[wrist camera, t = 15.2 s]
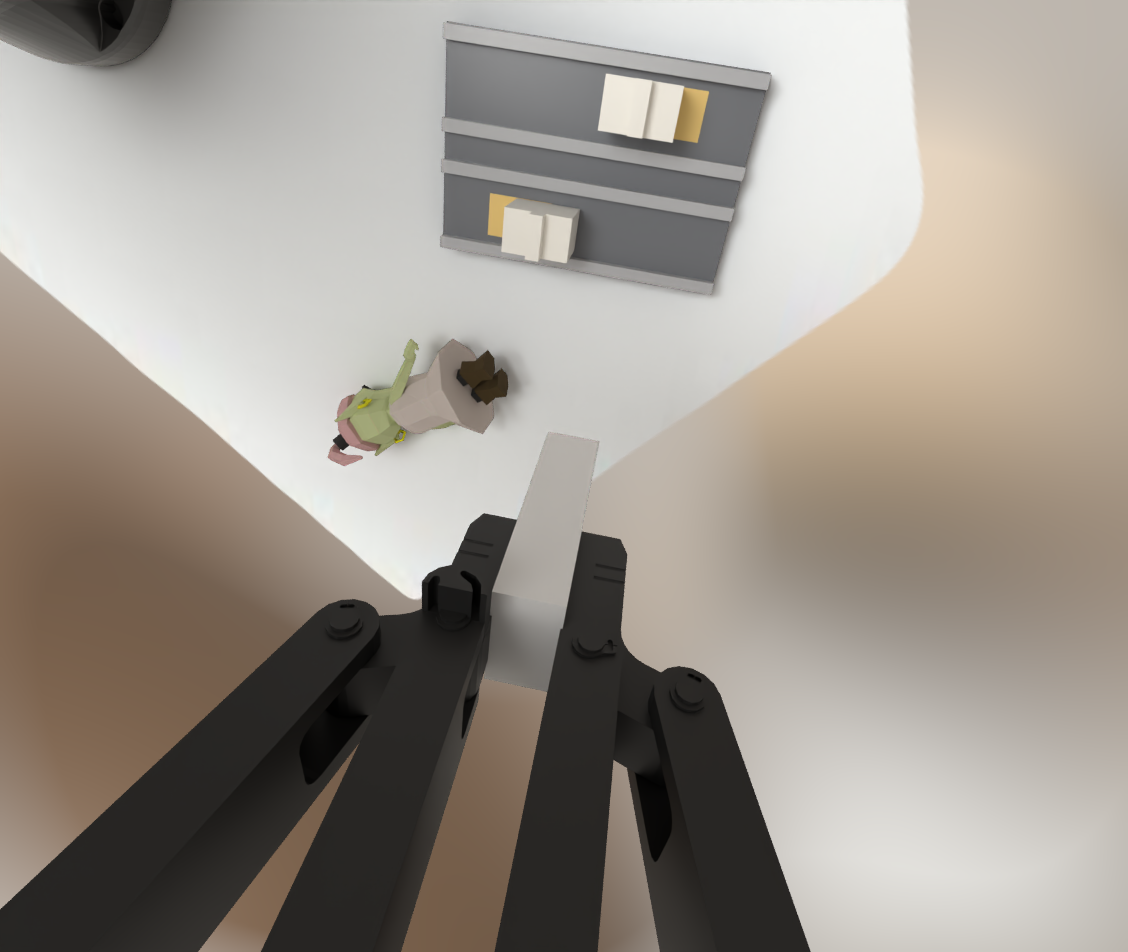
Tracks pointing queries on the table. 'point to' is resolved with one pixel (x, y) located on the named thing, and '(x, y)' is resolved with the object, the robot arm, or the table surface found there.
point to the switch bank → (593, 154)
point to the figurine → (421, 401)
